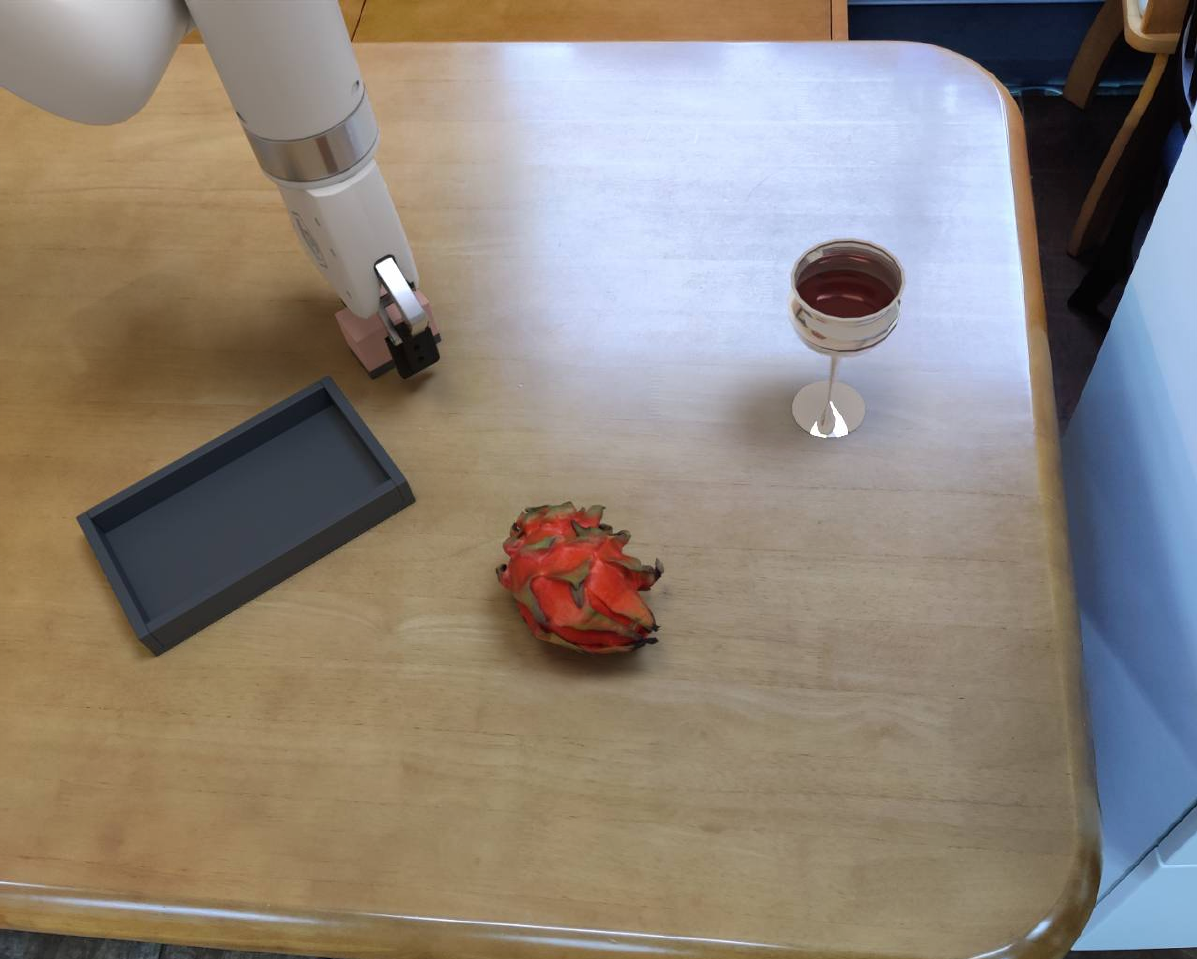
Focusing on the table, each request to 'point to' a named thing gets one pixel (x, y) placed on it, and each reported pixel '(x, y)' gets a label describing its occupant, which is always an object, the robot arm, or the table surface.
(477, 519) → the table surface
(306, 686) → the table surface
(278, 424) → the tray
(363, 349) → the eraser
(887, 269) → the wineglass
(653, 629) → the dragon fruit
